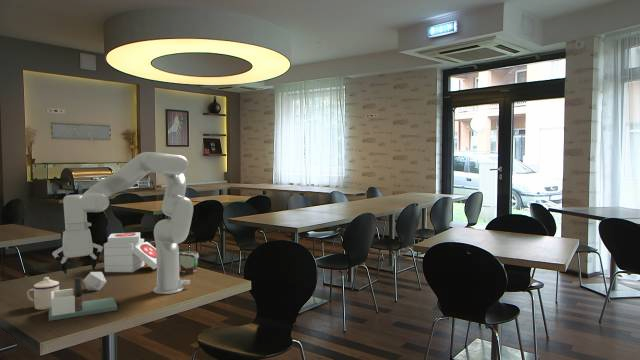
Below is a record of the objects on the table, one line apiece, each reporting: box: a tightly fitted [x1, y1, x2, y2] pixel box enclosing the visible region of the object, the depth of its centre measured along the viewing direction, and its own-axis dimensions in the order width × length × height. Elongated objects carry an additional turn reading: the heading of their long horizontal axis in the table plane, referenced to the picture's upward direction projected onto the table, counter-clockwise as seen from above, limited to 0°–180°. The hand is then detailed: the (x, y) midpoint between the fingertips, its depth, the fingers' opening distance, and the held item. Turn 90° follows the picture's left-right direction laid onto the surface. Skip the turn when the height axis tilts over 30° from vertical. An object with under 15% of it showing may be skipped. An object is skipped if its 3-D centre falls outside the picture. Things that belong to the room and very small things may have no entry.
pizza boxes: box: [103, 231, 157, 273], centre depth 249 cm, size 19×30×18 cm, turn 88°
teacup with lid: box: [26, 276, 61, 311], centre depth 186 cm, size 12×9×12 cm
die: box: [82, 271, 107, 291], centre depth 209 cm, size 8×9×10 cm
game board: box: [48, 288, 118, 322], centre depth 181 cm, size 23×14×8 cm, turn 120°
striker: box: [73, 277, 83, 310], centre depth 180 cm, size 2×10×11 cm, turn 30°
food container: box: [179, 250, 200, 274], centre depth 242 cm, size 12×6×10 cm, turn 58°
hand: (79, 270), depth 180 cm, fingers open, 9 cm apart
